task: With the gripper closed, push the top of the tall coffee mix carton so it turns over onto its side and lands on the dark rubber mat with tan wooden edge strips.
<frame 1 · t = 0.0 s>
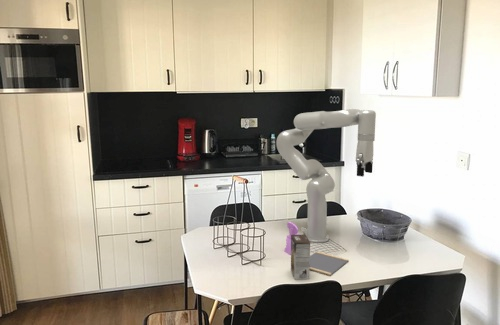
hand: (364, 174, 198), 37 cm above the table, tool pointing down, fingers open, 9 cm apart
coffee box: (299, 275, 178), on the table
mat: (322, 264, 188), on the table
toy chair: (295, 252, 202), on the table
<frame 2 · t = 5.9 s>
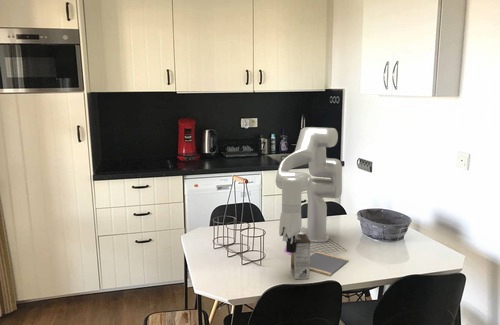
hand: (290, 251, 170), 13 cm above the table, tool pointing down, fingers closed
coffee box: (299, 274, 178), on the table, touching gripper
everything else where it was.
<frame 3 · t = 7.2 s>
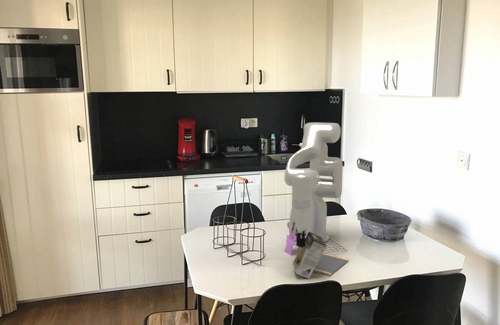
hand: (300, 246, 176), 12 cm above the table, tool pointing down, fingers closed
coffee box: (300, 272, 178), point 1 cm above the table
everything else where it was.
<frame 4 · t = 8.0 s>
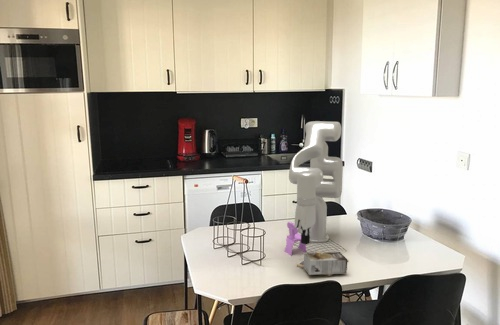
hand: (305, 243, 179), 12 cm above the table, tool pointing down, fingers closed
coffee box: (306, 263, 178), point 4 cm above the table, touching mat
everything else where it was.
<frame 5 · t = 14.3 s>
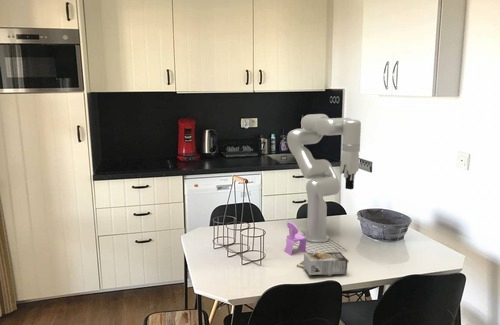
hand: (349, 188, 190), 32 cm above the table, tool pointing down, fingers closed
nothing on the table moved.
at the end: coffee box tilted 92°; coffee box inside the target area (8.5 cm from its centre), point 4.5 cm above the table; the gripper is holding nothing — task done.
